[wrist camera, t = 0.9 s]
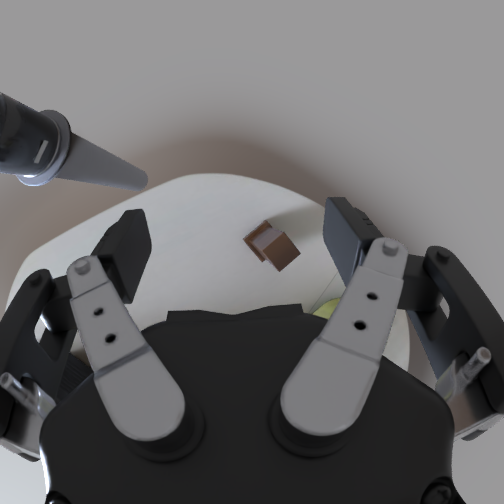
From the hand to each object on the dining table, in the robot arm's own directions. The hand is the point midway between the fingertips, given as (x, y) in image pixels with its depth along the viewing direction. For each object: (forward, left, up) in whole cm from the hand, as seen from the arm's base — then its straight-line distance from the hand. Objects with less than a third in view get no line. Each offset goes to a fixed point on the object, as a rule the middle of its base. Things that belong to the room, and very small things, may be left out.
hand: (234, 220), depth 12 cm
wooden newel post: (+7, +2, -25) cm, 26 cm away
